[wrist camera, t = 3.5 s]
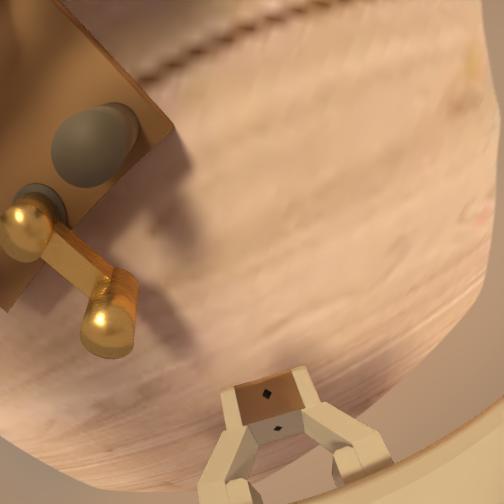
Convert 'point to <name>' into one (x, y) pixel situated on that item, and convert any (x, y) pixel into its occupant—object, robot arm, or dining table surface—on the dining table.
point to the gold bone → (75, 272)
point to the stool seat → (63, 120)
